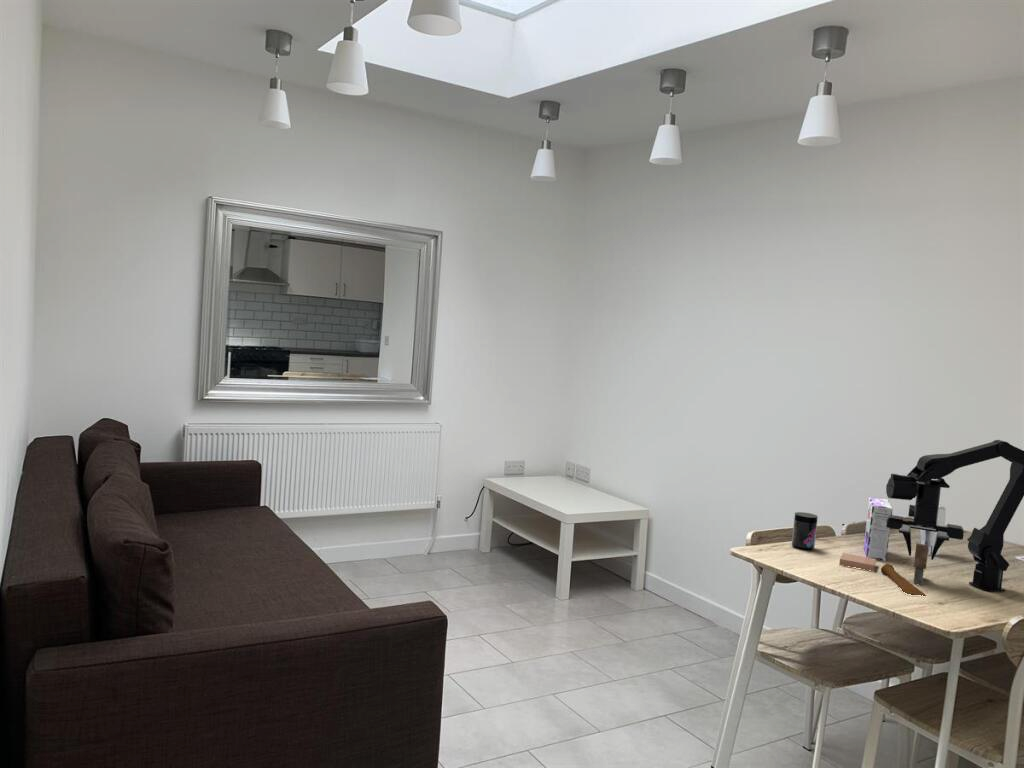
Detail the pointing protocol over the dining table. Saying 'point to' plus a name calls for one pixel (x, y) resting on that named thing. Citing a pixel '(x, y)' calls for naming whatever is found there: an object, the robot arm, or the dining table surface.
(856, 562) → the tan block
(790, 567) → the dining table surface
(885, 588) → the dining table surface
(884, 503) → the candy box
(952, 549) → the dining table surface
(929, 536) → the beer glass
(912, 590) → the primitive tool
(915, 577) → the two-tone stacked blocks
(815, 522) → the supplement container
